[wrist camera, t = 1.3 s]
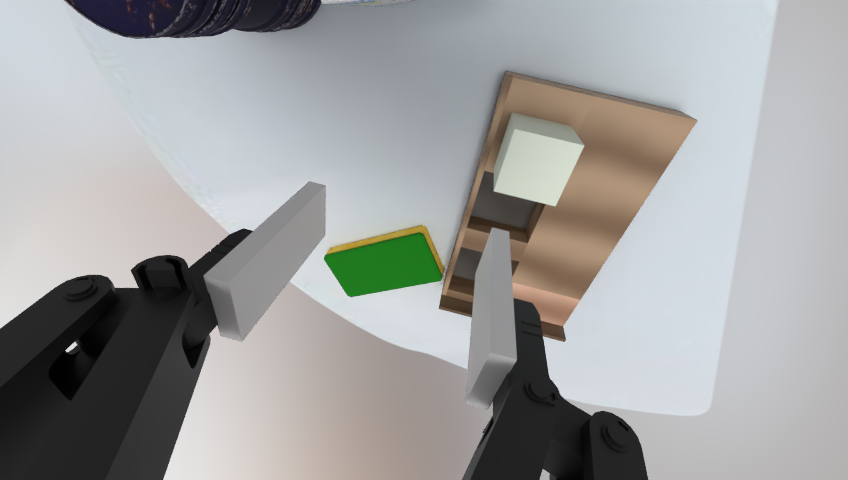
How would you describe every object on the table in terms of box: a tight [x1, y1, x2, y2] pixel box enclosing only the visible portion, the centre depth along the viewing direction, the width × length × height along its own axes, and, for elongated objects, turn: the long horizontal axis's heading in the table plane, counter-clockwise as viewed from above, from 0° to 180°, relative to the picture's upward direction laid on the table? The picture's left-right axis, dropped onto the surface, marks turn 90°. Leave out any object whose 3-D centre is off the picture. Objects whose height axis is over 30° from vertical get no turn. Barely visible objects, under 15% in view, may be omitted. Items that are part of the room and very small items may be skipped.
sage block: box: [494, 112, 585, 206], centre depth 27 cm, size 5×5×5 cm
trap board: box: [439, 71, 698, 342], centre depth 33 cm, size 25×15×5 cm, turn 170°
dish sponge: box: [324, 225, 444, 297], centre depth 42 cm, size 7×14×2 cm, turn 111°
